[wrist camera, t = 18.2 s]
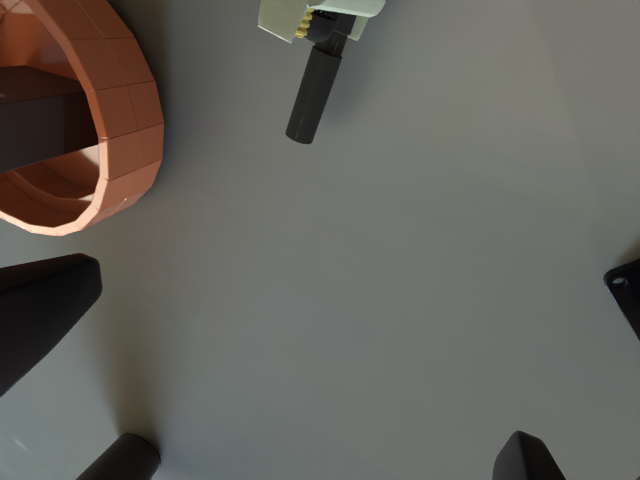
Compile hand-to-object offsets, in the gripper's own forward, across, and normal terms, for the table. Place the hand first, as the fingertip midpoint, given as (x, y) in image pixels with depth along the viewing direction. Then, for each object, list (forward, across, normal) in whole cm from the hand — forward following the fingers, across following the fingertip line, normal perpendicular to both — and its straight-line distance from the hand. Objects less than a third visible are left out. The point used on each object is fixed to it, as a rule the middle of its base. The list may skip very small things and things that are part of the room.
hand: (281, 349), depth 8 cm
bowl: (+13, +19, +2) cm, 23 cm away
